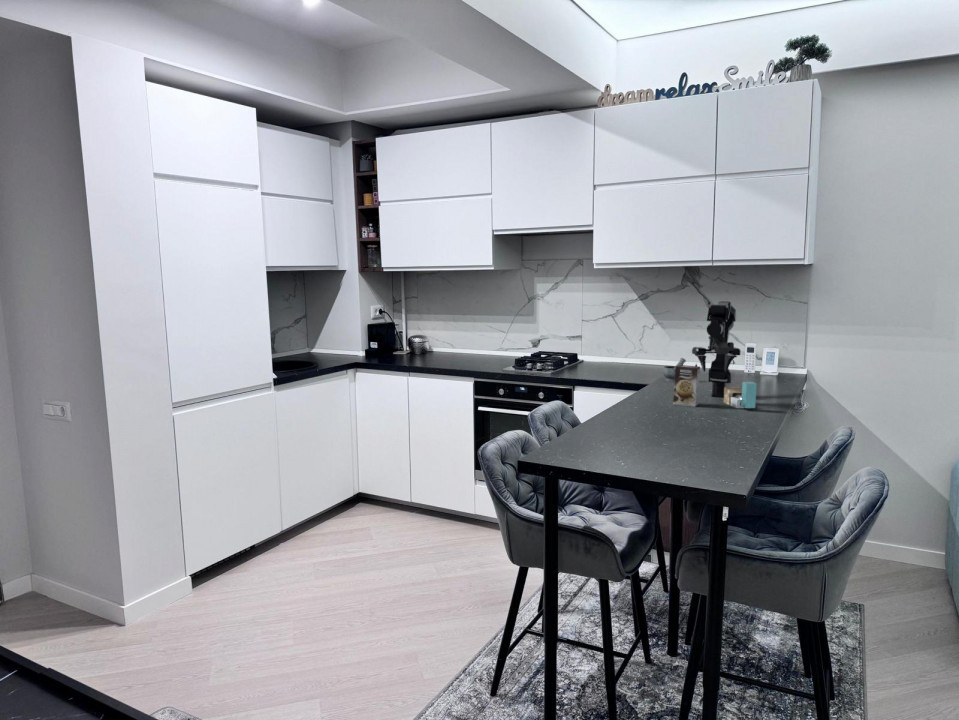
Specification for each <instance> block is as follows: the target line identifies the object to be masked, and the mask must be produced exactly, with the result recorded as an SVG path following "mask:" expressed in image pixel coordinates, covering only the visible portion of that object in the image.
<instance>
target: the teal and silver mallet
mask: <svg viewBox="0 0 959 720" xmlns="http://www.w3.org/2000/svg"><path fill="white" fill-rule="evenodd" d="M741 385H742V386H741V387H742V396H741V395H739V394H736V393H735V394H733V395H732V397H735V398H737V399H739V400H740V404H741V406H742V407H744V408H743V409H755V408H756V401H757V400H756V398H757V387H758V386H757V385H758V384H757V383H756V382H754V381H742V384H741Z"/></svg>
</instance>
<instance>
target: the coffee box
mask: <svg viewBox="0 0 959 720" xmlns="http://www.w3.org/2000/svg"><path fill="white" fill-rule="evenodd" d="M676 365H677V364H676ZM676 365H675V382H673V383H674V384H673V399H672V400H673V401H672V404H673V405H676V406H684V407H697V406H698V404H699V403H698V401H699V388H700V387H699V385H700V371H701V367H700V366H696V365H685V364H683V365H677V366H676Z"/></svg>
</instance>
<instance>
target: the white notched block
mask: <svg viewBox="0 0 959 720" xmlns="http://www.w3.org/2000/svg"><path fill="white" fill-rule="evenodd" d="M730 406H731V407H734V408H735V409H745V408H744V407H742V406H741V404H740V400H739V399H737V398H735V397H731V405H730Z"/></svg>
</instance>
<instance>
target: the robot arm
mask: <svg viewBox="0 0 959 720" xmlns="http://www.w3.org/2000/svg"><path fill="white" fill-rule="evenodd" d="M736 320H737V310H736V308H735V307H734V306H733V305H732V302H731V301H727V300H724V301H723V300H720V301H719V302H718V304H711V305H710V306H709V307H708V312H707V317H706V321H707V322H709V324H708V325H707V327H706V333H707V335H709V336H708V339H709V343H708V346H707V348H706V347H703V346H693V347H692V349H691V354H693V355H694V356H696V357H697V359H698V361H699V363H700V366H701V369H702V371H703V372H706V359H707V355H706V354H716V355H715V359H714V360H712V361H711V365H710V368H709V369H708V383H709V382H710V383H711V392H710V393H709V395H710V396H711V397H714V398H715V397H716V398H717V397H719V398H721V397H722V398H724V389H725V387H727V385H726V384H732V373H731V371H730V369H729V367H730V364H731V362H732V361H733V360H734V359H735V358H738V356H741V349H740V348H738V347H735V343H734V342H732V341H730V342H729V337H730V331H731V330H732V329H733V328H734V325H735V322H736Z"/></svg>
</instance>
